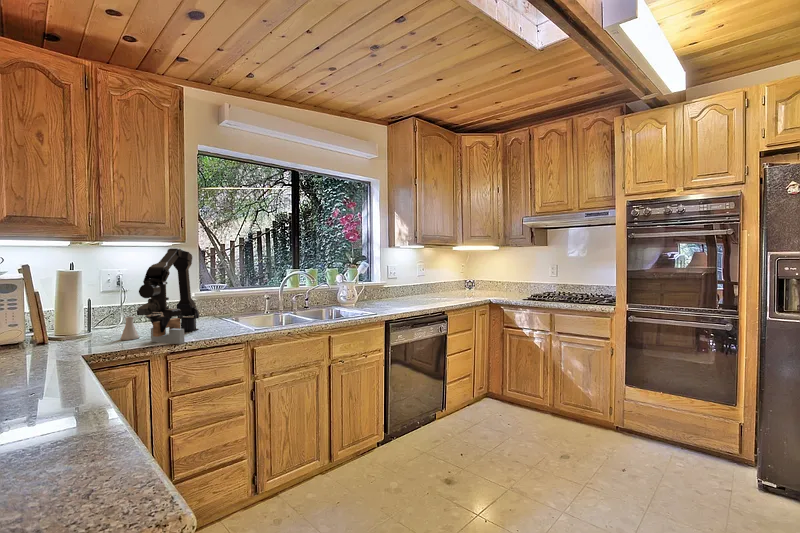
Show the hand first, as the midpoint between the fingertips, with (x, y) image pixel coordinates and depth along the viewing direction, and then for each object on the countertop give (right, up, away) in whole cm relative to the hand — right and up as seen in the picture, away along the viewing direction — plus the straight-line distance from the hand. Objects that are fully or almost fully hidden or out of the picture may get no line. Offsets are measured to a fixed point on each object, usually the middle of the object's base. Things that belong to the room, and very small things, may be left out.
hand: (159, 332), depth 177 cm
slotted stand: (+1, -5, +4) cm, 7 cm away
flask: (-20, -5, +12) cm, 24 cm away
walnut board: (+1, -1, +4) cm, 4 cm away
